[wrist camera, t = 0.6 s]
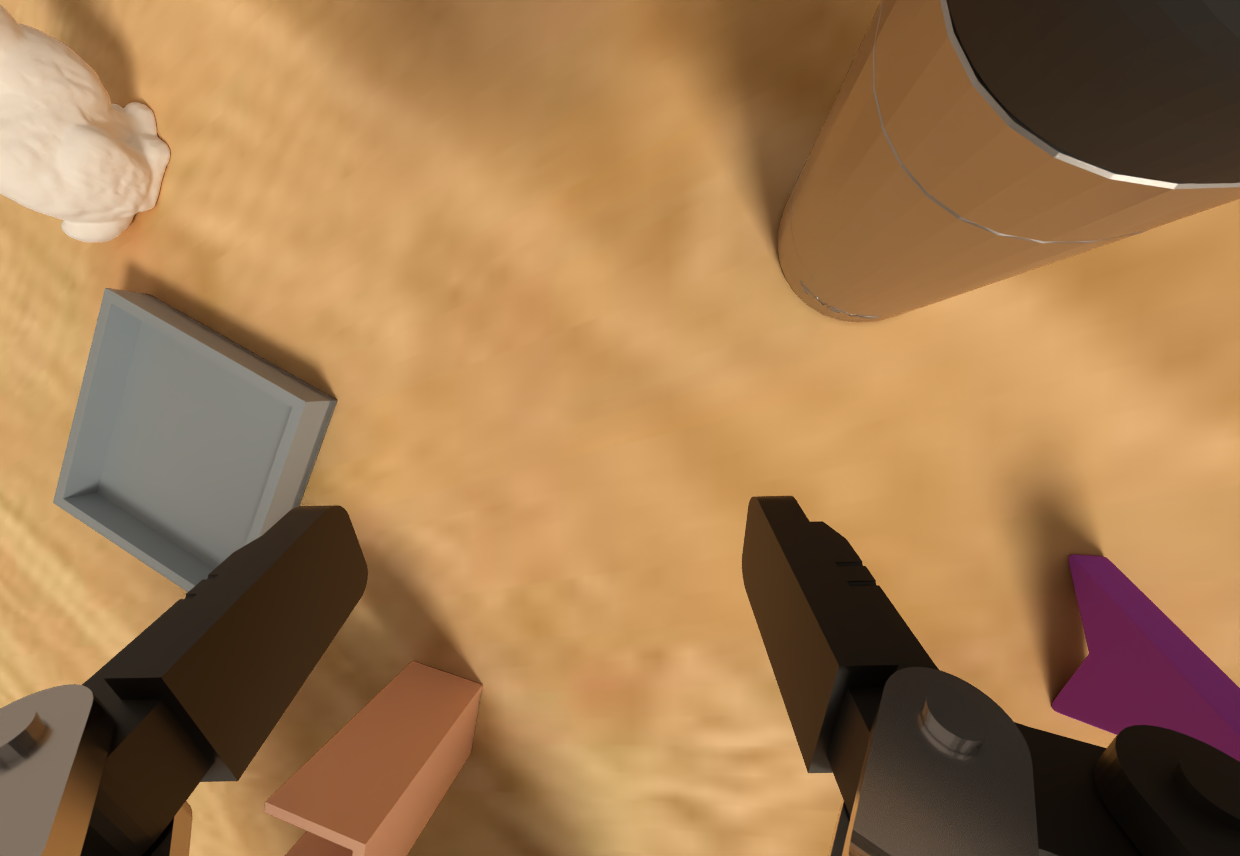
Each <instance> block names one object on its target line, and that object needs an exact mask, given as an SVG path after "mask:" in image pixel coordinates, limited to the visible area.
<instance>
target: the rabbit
mask: <svg viewBox="0 0 1240 856" xmlns="http://www.w3.org/2000/svg"><path fill="white" fill-rule="evenodd" d="M169 160H170V149H169V147H168V145H167V144H166V143H164V142H163V141H162V140H160V139H159V138H158V136H157V127H156V120H155V116H154V113H153V111H152V110H151V109H149V108H148V107H147V106H146V105H144V104H141V103H138V102H131V103H129V104H127V105H126V106H125V107H124V108H123V107H121V106H120V105H118V104H113V103H111V100H110V96H109V94H108V92H107V91H106V89H105V88H104V86H103V85H102V83H101V81H100V78H99V76H98V75H97V73H96V72H95V71H94V69H93V68H92V67H91V66H90V65H89V64H87V63H86V62H85V61H84V60H83V59H81V58H80V57H79V55H78V54H77V53H75V52H74V51H73V50H72V49H70V48H69V47H68V46H67V45H65V44H64V43H62V42H61V41H59V40H57V39H55V38H53V37H51V36H48V35H47V34H45V33H43V32H41V31H39V30H37V29H35V28H32V27H29V26H26V25H23V24H18V23H17V22H16V21H15V19H14V18H13V17H12V16H11V14H10V13H9V12H8V11H7V10H6V9H5V8H4V7H2V6H1V5H0V194H2V195H4V196H5V197H7V198H9V199H11V200H13V201H15V202H17V203H18V204H20V205H22V206H24V207H27V208H29V209H31V210H34V211H37V212H39V213H42V214H45V215H49V216H52V217H55V218H59V219H62V220H63V222H62V230H63V231H64V232H65V233H66V234H67V235H68V236H70V237H71V238H73V239H76V240H80V241H83V242H108V241H110V240H113V239H115V238H117V237H118V236H119V235H120V234H121V233H123V232H124V231H125V230H126V229H127V228H128V227H129V226H130V224H131V222H132V220H133V218H134V215H135V214H136V213H138V212H144V211H148V210H151V209H152V208H153V207H154V206H155V204H156V202H157V198H158V196H159V192H160V187H161V182H162V179H163V175H164V172H165V170H166V166H167V164H168V163H169Z"/></svg>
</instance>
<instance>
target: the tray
mask: <svg viewBox="0 0 1240 856" xmlns="http://www.w3.org/2000/svg"><path fill="white" fill-rule="evenodd" d="M336 403H337V400H336V399H334V398H332V397H330V396H329V395H327V394H325V393H323V392H322V391H320V390H318V389H316V388H315V387H313V386H311V385H309V384H307V383H306V382H304V381H302V380H300V379H299V378H297V377H295V376H293V375H291V374H290V373H288V372H286V371H284V370H283V369H281V368H279V367H277V366H275V365H274V364H272V363H270V362H268V361H267V360H265V359H263V358H261V357H260V356H258V355H256V354H254V353H252V352H251V351H249V350H247V349H245V348H244V347H242V346H240V345H238V344H236V343H235V342H233V341H231V340H229V339H228V338H226V337H224V336H222V335H220V334H219V333H217V332H215V331H213V330H212V329H210V328H208V327H206V326H205V325H203V324H201V323H199V322H197V321H196V320H194V319H192V318H190V317H189V316H187V315H185V314H183V313H181V312H180V311H178V310H176V309H174V308H173V307H171V306H169V305H167V304H165V303H164V302H162V301H160V300H158V299H157V298H155V297H153V296H151V295H149V294H143V293H136V292H130V291H124V290H117V289H111V288H105V291H104V295H103V300H102V304H101V308H100V312H99V316H98V320H97V324H96V328H95V333H94V337H93V341H92V345H91V349H90V353H89V357H88V361H87V365H86V370H85V374H84V378H83V382H82V386H81V390H80V394H79V398H78V402H77V407H76V411H75V415H74V419H73V423H72V427H71V431H70V435H69V439H68V444H67V448H66V452H65V456H64V460H63V464H62V468H61V472H60V477H59V481H58V485H57V489H56V493H55V497H54V501H53V503H54V504H56V505H57V506H59V507H60V508H62V509H63V510H65V511H66V512H68V513H69V514H71V515H72V516H74V517H75V518H77V519H78V520H80V521H81V522H83V523H84V524H86V525H87V526H89V527H91V528H92V529H94V530H95V531H97V532H98V533H100V534H101V535H103V536H104V537H106V538H107V539H109V540H110V541H112V542H113V543H115V544H116V545H118V546H119V547H121V548H122V549H124V550H125V551H127V552H128V553H130V554H131V555H133V556H134V557H136V558H137V559H139V560H140V561H142V562H143V563H145V564H146V565H148V566H149V567H151V568H152V569H154V570H155V571H157V572H158V573H160V574H161V575H163V576H164V577H166V578H167V579H169V580H170V581H172V582H174V583H175V584H177V585H178V586H180V587H181V588H183V589H184V590H186V591H187V592H189V591H190V590H191V589H192V588H193V587H195V586H196V585H197V584H198V583H199V582H200V581H201V580H203V579H207V578H208V574H209V573H211V572H212V571H213V570H214V569H215V568H216V567H217V566H218V565H220V564H221V563H222V562H223V561H224V560H225V559H226V558H228V557H229V556H230V555H231V554H232V553H233V552H235V551H237V550H238V549H240V548H242V547H243V546H245V545H247V544H248V543H250V542H252V541H254V540H255V539H257V538H259V537H260V536H262V535H263V534H264V533H265V532H267V531H268V530H269V529H270V528H271V527H272V526H273V525H274V524H275V523H277V522H278V521H279V520H280V519H281V518H282V517H283V516H284V515H285V514H287V513H288V512H289V511H290V510H291V509H293V508H295V507H299V505H300V503H301V500H302V497H303V494H304V491H305V489H306V486H307V483H308V480H309V478H310V475H311V472H312V469H313V467H314V464H315V461H316V458H317V455H318V453H319V450H320V447H321V444H322V442H323V439H324V436H325V433H326V430H327V428H328V425H329V422H330V419H331V417H332V414H333V411H334V408H335V406H336Z"/></svg>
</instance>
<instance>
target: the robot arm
mask: <svg viewBox="0 0 1240 856" xmlns="http://www.w3.org/2000/svg"><path fill="white" fill-rule="evenodd" d="M1237 199H1240V0H881V2H880V4H879V6H878V8H877V10H876V12H875V15H874V17H873V19H872V21H871V23H870V25H869V28H868V30H867V32H866V34H865V36H864V38H863V40H862V43H861V45H860V47H859V49H858V51H857V53H856V56H855V58H854V60H853V62H852V64H851V66H850V69H849V71H848V73H847V75H846V77H845V79H844V81H843V84H842V86H841V88H840V90H839V92H838V94H837V97H836V99H835V101H834V103H833V105H832V107H831V109H830V112H829V114H828V116H827V118H826V120H825V122H824V125H823V127H822V129H821V131H820V133H819V135H818V137H817V140H816V142H815V144H814V146H813V148H812V150H811V153H810V155H809V157H808V159H807V161H806V163H805V165H804V167H803V169H802V171H801V173H800V175H799V178H798V180H797V182H796V184H795V186H794V188H793V191H792V193H791V195H790V197H789V199H788V201H787V204H786V206H785V208H784V211H783V214H782V218H781V221H780V224H779V231H778V243H777V246H778V253H779V261H780V265H781V267H782V270H783V273H784V276H785V278H786V280H787V281H788V283H789V285H790V286H791V288H792V289H793V291H794V292H795V294H796V295H798V296H799V297H800V298H801V299H802V300H803V301H804V302H805V303H806V304H807V305H808V306H810V307H811V308H813V309H815V310H816V311H818V312H820V313H821V314H823V315H826V316H829V317H832V318H835V319H838V320H843V321H852V322H869V321H879V320H883V319H886V318H890V317H893V316H897V315H900V314H903V313H906V312H909V311H912V310H915V309H917V308H920V307H924V306H927V305H930V304H933V303H936V302H939V301H942V300H945V299H948V298H951V297H954V296H957V295H960V294H963V293H966V292H969V291H971V290H974V289H977V288H980V287H983V286H986V285H989V284H992V283H995V282H998V281H1001V280H1004V279H1007V278H1010V277H1013V276H1016V275H1018V274H1021V273H1024V272H1027V271H1030V270H1033V269H1036V268H1039V267H1042V266H1045V265H1048V264H1051V263H1054V262H1057V261H1060V260H1063V259H1066V258H1068V257H1071V256H1074V255H1077V254H1080V253H1083V252H1086V251H1089V250H1092V249H1095V248H1098V247H1101V246H1104V245H1107V244H1110V243H1113V242H1115V241H1118V240H1121V239H1124V238H1127V237H1130V236H1133V235H1136V234H1139V233H1142V232H1144V231H1147V230H1150V229H1152V228H1155V227H1158V226H1161V225H1164V224H1167V223H1170V222H1173V221H1176V220H1178V219H1181V218H1184V217H1187V216H1190V215H1193V214H1196V213H1199V212H1202V211H1205V210H1208V209H1211V208H1214V207H1217V206H1220V205H1222V204H1225V203H1228V202H1231V201H1234V200H1237ZM742 573H743V580H744V585H745V589H746V592H747V595H748V598H749V601H750V604H751V607H752V610H753V613H754V616H755V619H756V622H757V624H758V627H759V630H760V633H761V636H762V639H763V642H764V645H765V648H766V651H767V654H768V657H769V660H770V663H771V665H772V668H773V671H774V674H775V677H776V680H777V683H778V686H779V689H780V692H781V695H782V698H783V701H784V704H785V707H786V709H787V712H788V715H789V718H790V721H791V724H792V727H793V730H794V733H795V736H796V739H797V742H798V745H799V748H800V751H801V753H802V756H803V759H804V762H805V765H806V768H807V771H808V773H833V774H834V776H835V779H836V781H837V784H838V786H839V789H840V792H841V794H842V797H843V801H842V803H841V806H840V810H839V814H838V818H837V822H836V826H835V830H834V834H833V838H832V842H831V846H830V850H829V854H828V856H1240V762H1239V761H1237V760H1236V759H1234V758H1232V757H1231V756H1229V755H1227V754H1225V753H1224V752H1222V751H1220V750H1218V749H1216V748H1214V747H1212V746H1210V745H1208V744H1206V743H1204V742H1202V741H1200V740H1197V739H1195V738H1193V737H1190V736H1188V735H1186V734H1183V733H1180V732H1177V731H1174V730H1171V729H1166V728H1162V727H1158V726H1151V725H1133V726H1130V727H1126V728H1125V729H1123V730H1122V731H1120V732H1119V734H1118V735H1117V736H1116V737H1115V739H1114V740H1113V741H1112V742H1111V744H1110V745H1109V746H1108V747H1107V748H1103V747H1100V746H1096V745H1092V744H1089V743H1085V742H1082V741H1078V740H1074V739H1071V738H1067V737H1063V736H1060V735H1056V734H1052V733H1049V732H1045V731H1042V730H1038V729H1034V728H1031V727H1027V726H1024V725H1021V724H1018V723H1015V722H1013V721H1012V719H1011V718H1010V717H1009V716H1008V715H1007V714H1006V713H1005V712H1004V710H1003V709H1002V708H1001V707H1000V706H998V705H997V704H996V703H995V702H994V701H993V700H992V699H991V698H989V697H988V696H987V695H985V694H984V693H983V692H981V691H980V690H979V689H977V688H976V687H974V686H972V685H971V684H969V683H968V682H966V681H964V680H962V679H960V678H958V677H956V676H953V675H951V674H948V673H946V672H943V671H940V670H939V669H938V668H937V667H936V665H935V664H934V663H933V661H932V660H931V658H930V657H929V655H928V654H927V653H926V651H925V650H924V648H923V647H922V646H921V644H920V643H919V641H918V640H917V638H916V637H915V636H914V634H913V633H912V631H911V630H910V629H909V627H908V626H907V624H906V623H905V621H904V620H903V619H902V617H901V616H900V614H899V613H898V612H897V610H896V609H895V607H894V606H893V604H892V603H891V602H890V600H889V599H888V597H887V596H886V595H885V593H884V592H883V590H882V589H881V587H880V586H877V585H876V582H875V581H876V580H875V579H874V578H873V576H872V575H871V573H870V572H869V570H868V569H867V568H866V566H863V565H862V561H861V559H860V558H859V556H858V555H857V553H856V552H855V551H854V549H853V548H852V546H851V545H850V543H849V542H848V541H847V539H845V538H844V537H843V536H841V535H840V534H839V533H837V532H836V531H835V530H833V529H832V528H831V527H829V526H828V525H827V524H825V523H824V522H823V521H822V522H809V520H808V518H807V517H806V515H805V514H804V512H803V510H802V509H801V507H800V506H799V504H798V502H797V501H796V499H795V498H794V497H793V496H761V497H752V498H751V499H750V502H749V506H748V514H747V522H746V530H745V538H744V546H743V554H742ZM367 576H368V570H367V565H366V561H365V559H364V556H363V553H362V550H361V548H360V545H359V542H358V539H357V537H356V534H355V531H354V528H353V526H352V523H351V520H350V517H349V515H348V513H347V511H346V510H345V509H344V508H343V507H341V506H299V507H295V508H293V509H291V510H290V511H289V512H288V513H287V514H285V515H284V516H283V517H282V518H281V519H280V520H279V521H278V522H277V523H275V524H274V525H273V526H272V527H271V528H270V529H269V530H268V531H267V532H265V533H264V534H263V535H262V536H260V537H259V538H257V539H255V540H254V541H252V542H250V543H248V544H247V545H245V546H243V547H242V548H240V549H238V550H237V551H235V552H233V553H232V554H231V555H230V556H229V557H228V558H226V559H225V560H224V561H223V562H222V563H221V564H220V565H218V566H217V567H216V568H215V569H214V570H213V571H212V572H211V573H209V574H208V578H207V579H203V580H201V581H200V582H199V583H198V584H197V585H196V586H195V587H193V588H192V589H191V590H190V591H189V592H188V593H187V594H186V598H185V599H180V600H179V601H177V602H176V603H175V604H174V605H173V606H172V607H171V608H169V609H168V610H167V611H166V612H165V613H164V614H163V615H161V616H160V617H159V618H158V619H157V620H156V621H155V622H153V623H152V624H151V625H150V626H149V627H148V628H147V629H145V630H144V631H143V632H142V633H141V634H140V635H139V636H138V637H136V638H135V639H134V640H133V641H132V642H131V643H130V644H128V645H127V646H126V647H125V648H124V649H123V650H122V651H120V652H119V653H118V654H117V655H116V656H115V657H114V658H112V659H111V660H110V661H109V662H108V663H107V664H106V665H104V666H103V667H102V668H101V669H100V670H99V671H98V672H96V673H95V674H94V675H93V676H92V677H91V678H90V679H88V680H87V681H86V682H85V683H84V684H82V685H76V684H74V685H63V686H57V687H53V688H49V689H46V690H42V691H39V692H37V693H34V694H31V695H29V696H26V697H24V698H22V699H19V700H17V701H15V702H12V703H11V704H9V705H7V706H5V707H3V708H1V709H0V856H189V848H190V838H191V828H192V809H191V806H190V805H189V804H188V803H187V801H186V800H187V799H188V797H189V796H190V795H191V793H192V792H193V791H194V789H195V788H196V786H197V785H198V784H199V782H212V781H238V780H239V778H240V777H241V775H242V774H243V773H244V771H245V770H246V768H247V767H248V765H249V764H250V762H251V761H252V759H253V758H254V756H255V755H256V753H257V752H258V750H259V749H260V747H261V746H262V744H263V743H264V741H265V740H266V738H267V737H268V735H269V734H270V732H271V731H272V729H273V728H274V726H275V725H276V723H277V722H278V720H279V719H280V717H281V716H282V714H283V713H284V711H285V710H286V709H287V707H288V706H289V704H290V703H291V701H292V700H293V698H294V697H295V695H296V694H297V692H298V691H299V689H300V688H301V686H302V685H303V683H304V682H305V680H306V679H307V677H308V676H309V674H310V673H311V671H312V670H313V668H314V667H315V665H316V664H317V662H318V661H319V659H320V658H321V656H322V655H323V653H324V652H325V650H326V649H327V648H328V646H329V645H330V643H331V642H332V640H333V639H334V637H335V636H336V634H337V633H338V631H339V630H340V628H341V627H342V625H343V624H344V622H345V621H346V619H347V618H348V616H349V615H350V613H351V612H352V610H353V609H354V607H355V606H356V604H357V603H358V601H359V600H360V598H361V597H362V595H363V593H364V590H365V587H366V583H367Z"/></svg>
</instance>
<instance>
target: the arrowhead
mask: <svg viewBox="0 0 1240 856" xmlns="http://www.w3.org/2000/svg"><path fill="white" fill-rule="evenodd" d="M1069 565H1070V570H1071V575H1072V579H1073V584H1074V588H1075V593H1076V597H1077V602H1078V606H1079V610H1080V615H1081V619H1082V624H1083V628H1084V633H1085V637H1086V641H1087V646H1088V650H1089V654H1088V656H1087V657H1086V658H1085V660H1084V661H1083V662H1082V664H1081V665H1080V666H1079V668H1078V669H1077V670H1076V672H1075V673H1074V674H1073V676H1072V677H1071V678H1070V680H1069V681H1068V682H1067V684H1066V685H1065V686H1064V688H1063V689H1062V690H1061V692H1060V693H1059V694H1058V696H1057V697H1056V698H1055V700H1054V701H1053V703H1052V708H1053V710H1054V711H1056V712H1058V713H1061V714H1063V715H1066V716H1068V717H1071V718H1074V719H1076V720H1079V721H1082V722H1084V723H1087V724H1090V725H1092V726H1095V727H1098V728H1100V729H1103V730H1106V731H1108V732H1111V733H1114V734H1116V735H1118V734H1119V732H1120V731H1122V730H1123V729H1125V728H1126V727H1130V726H1133V725H1151V726H1158V727H1162V728H1166V729H1171V730H1174V731H1177V732H1180V733H1183V734H1186V735H1188V736H1190V737H1193V738H1195V739H1197V740H1200V741H1202V742H1204V743H1206V744H1208V745H1210V746H1212V747H1214V748H1216V749H1218V750H1220V751H1222V752H1224V753H1225V754H1227V755H1229V756H1231V757H1232V758H1234V759H1236V760H1237V761H1239V762H1240V688H1239V687H1238V686H1237V685H1236V684H1235V683H1234V682H1233V681H1232V680H1231V679H1230V678H1229V677H1228V676H1227V675H1226V674H1225V673H1224V672H1223V671H1222V670H1221V669H1220V668H1219V667H1218V666H1217V665H1216V664H1215V663H1214V662H1213V661H1212V660H1211V659H1210V658H1208V657H1207V656H1206V655H1205V654H1204V653H1203V652H1202V651H1201V650H1200V649H1199V648H1198V647H1197V646H1196V645H1195V644H1194V643H1193V642H1192V641H1191V640H1190V639H1189V638H1188V637H1187V636H1186V635H1185V634H1184V633H1183V632H1182V631H1181V630H1180V629H1179V628H1178V627H1177V626H1176V625H1175V624H1174V623H1173V622H1172V621H1171V620H1170V619H1169V618H1168V617H1167V616H1166V615H1165V614H1164V613H1163V612H1162V611H1161V610H1160V609H1159V608H1158V607H1157V606H1156V605H1155V604H1154V603H1153V602H1152V601H1151V600H1150V599H1149V598H1148V597H1147V596H1146V595H1145V594H1144V593H1143V592H1142V591H1140V590H1139V589H1138V588H1137V587H1136V586H1135V585H1134V584H1133V583H1132V582H1131V581H1130V580H1129V579H1128V578H1127V577H1126V576H1125V575H1124V574H1123V573H1122V572H1121V571H1120V570H1119V569H1118V568H1117V567H1116V566H1115V565H1114V564H1113V563H1112V562H1111V561H1110V560H1109V559H1107V558H1106V557H1102V556H1090V555H1070V556H1069Z"/></svg>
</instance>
